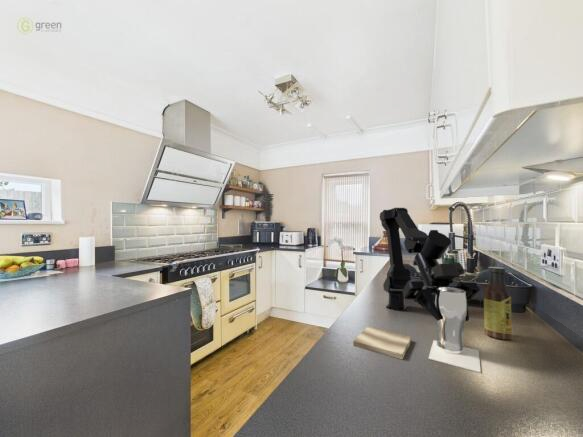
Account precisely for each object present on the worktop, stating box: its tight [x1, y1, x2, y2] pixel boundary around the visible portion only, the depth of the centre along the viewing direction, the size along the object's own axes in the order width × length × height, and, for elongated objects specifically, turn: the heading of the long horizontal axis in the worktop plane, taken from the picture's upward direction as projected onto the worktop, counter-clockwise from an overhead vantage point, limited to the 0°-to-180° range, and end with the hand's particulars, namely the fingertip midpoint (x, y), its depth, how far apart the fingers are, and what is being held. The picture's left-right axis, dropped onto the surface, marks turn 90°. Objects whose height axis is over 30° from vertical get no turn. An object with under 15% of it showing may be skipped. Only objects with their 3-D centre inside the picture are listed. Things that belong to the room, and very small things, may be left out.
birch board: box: [352, 326, 412, 360], centre depth 68 cm, size 12×12×1 cm
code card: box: [427, 339, 482, 374], centre depth 63 cm, size 12×10×1 cm
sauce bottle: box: [483, 266, 513, 340], centre depth 75 cm, size 7×6×20 cm
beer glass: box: [434, 287, 467, 354], centre depth 66 cm, size 7×7×15 cm
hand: (453, 320), depth 65 cm, fingers closed on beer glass, 7 cm apart
